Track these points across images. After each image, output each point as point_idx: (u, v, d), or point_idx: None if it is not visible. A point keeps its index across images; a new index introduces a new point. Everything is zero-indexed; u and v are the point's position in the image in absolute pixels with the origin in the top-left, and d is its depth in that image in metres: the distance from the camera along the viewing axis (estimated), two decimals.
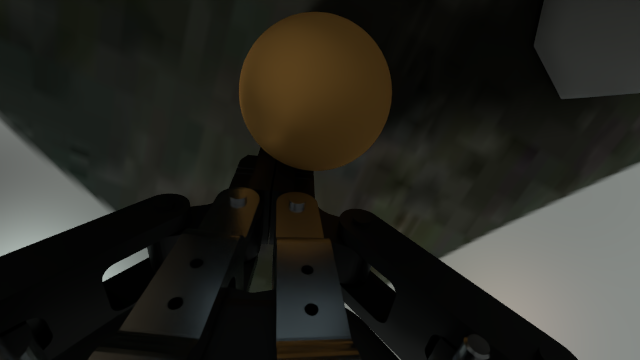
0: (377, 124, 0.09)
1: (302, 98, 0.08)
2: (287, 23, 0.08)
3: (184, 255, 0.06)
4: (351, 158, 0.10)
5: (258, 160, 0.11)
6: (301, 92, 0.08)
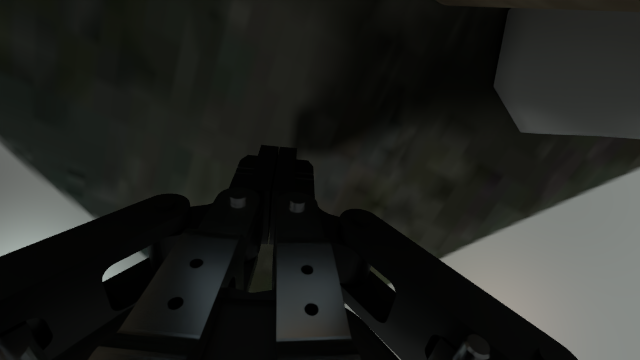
0: None
1: None
2: None
3: (184, 255, 0.06)
4: None
5: (258, 160, 0.11)
6: None
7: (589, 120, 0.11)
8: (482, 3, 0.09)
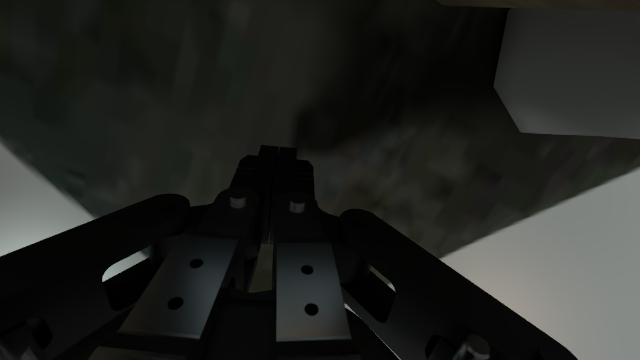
0: None
1: None
2: None
3: (184, 255, 0.06)
4: None
5: (258, 160, 0.11)
6: None
7: (589, 120, 0.11)
8: (482, 3, 0.09)
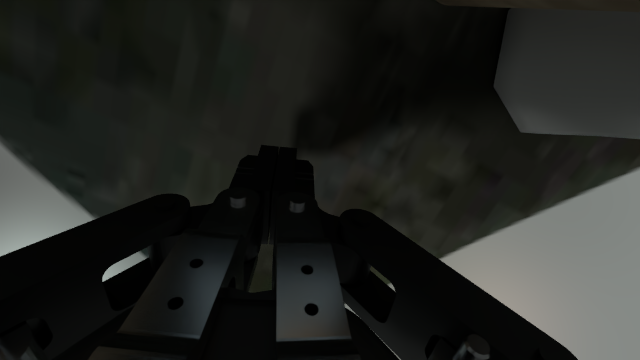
0: None
1: None
2: None
3: (184, 255, 0.06)
4: None
5: (258, 160, 0.11)
6: None
7: (589, 120, 0.11)
8: (482, 3, 0.09)
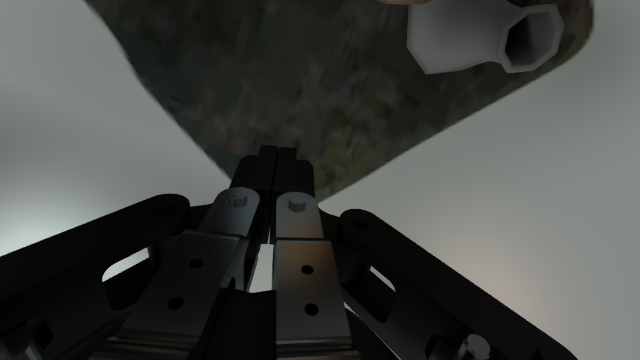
0: None
1: None
2: None
3: (184, 255, 0.06)
4: None
5: (258, 160, 0.11)
6: None
7: (444, 59, 0.22)
8: (382, 2, 0.20)
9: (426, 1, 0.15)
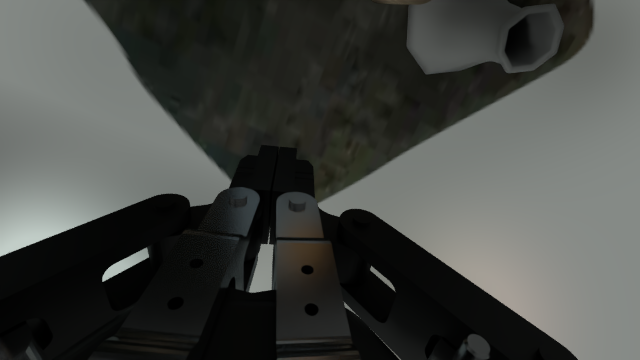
0: None
1: None
2: None
3: (184, 255, 0.06)
4: None
5: (258, 160, 0.11)
6: None
7: (444, 59, 0.22)
8: (382, 2, 0.20)
9: (426, 1, 0.15)
